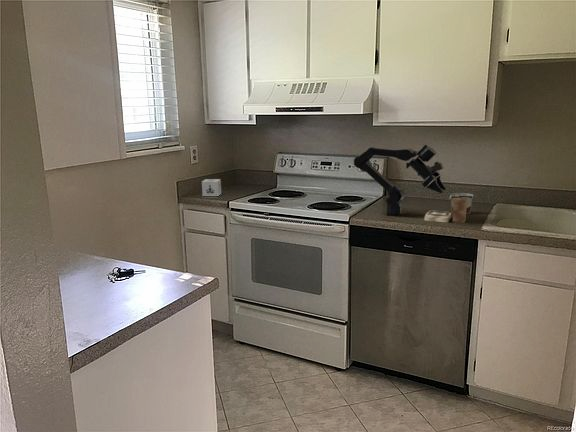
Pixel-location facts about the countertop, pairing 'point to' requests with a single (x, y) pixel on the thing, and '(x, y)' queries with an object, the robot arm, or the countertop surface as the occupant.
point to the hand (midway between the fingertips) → (443, 191)
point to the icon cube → (211, 187)
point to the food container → (462, 195)
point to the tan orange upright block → (459, 210)
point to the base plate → (438, 216)
